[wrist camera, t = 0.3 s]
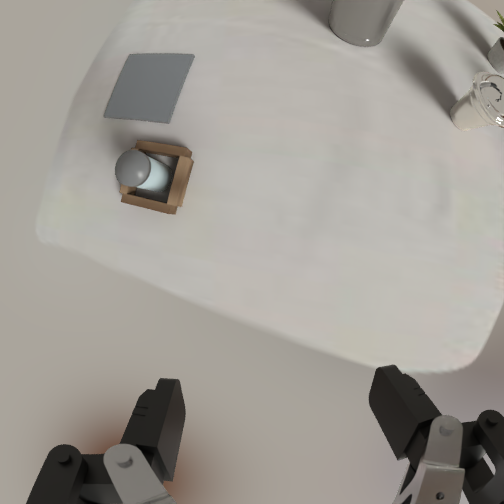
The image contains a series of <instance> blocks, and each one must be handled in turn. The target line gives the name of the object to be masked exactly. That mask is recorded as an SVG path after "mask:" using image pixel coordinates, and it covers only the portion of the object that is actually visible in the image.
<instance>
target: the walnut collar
mask: <svg viewBox="0 0 504 504" xmlns="http://www.w3.org/2000/svg"><path fill="white" fill-rule="evenodd" d="M131 150H138V151H140V152H142V153H144V154H146V153H151V154H157V155H163V156H168V157H174V158H179V161H178V164H177V168H176V171H175V175H174V178H173V182H172V186H171V190H170V193H169V197H168V201H167V203H164V202H160V201H156V200H151V199H147V198H143V197H139V196H135V192H136V188H137V187H130V186H125V185H123V184H121V188H120V192H119V193H123V194H122V199H121V202H123V203H127V204H131V205H135V206H139V207H143V208H147V209H151V210H155V211H159V212H163V213H167V214H176V210H177V206H179V207H182V203H183V199H184V196H185V192H186V188H187V184H188V180H189V177H190V173H191V170H192V166H193V163H194V161H193V160H191V159H190V158H191V155H192V152H191V151H190V150H189V149H188V148H185V147H179V146H173V145H167V144H161V143H154V142H147V141H140V140H137V143H136V147H135V148H131Z"/></svg>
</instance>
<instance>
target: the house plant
mask: <svg viewBox="0 0 504 504" xmlns="http://www.w3.org/2000/svg"><path fill="white" fill-rule="evenodd" d="M497 13H498V15H499V16H500V19H502V20H501V21H502V23H503V25H504V18H503V17H502V16H501V15H500V14H499V12H498V11H497ZM497 23H498V22H497ZM498 24H499V25H497V24H493V25H495V26H497V27H498V28H500V29H501V30H502V31H503V32H504V26H503V25H502V24H500V23H498ZM487 56H488V60H489V62H490V63H491V65H492V66H493V68H494V69H495V70H496V71H497V72H499V73H501V74H502V73H504V38H503V37H500V38H499V39H498V40H497V42H496V43H495V45H494V46H493V47H492V49H491V50H490V51H489V53H488V54H487Z"/></svg>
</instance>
